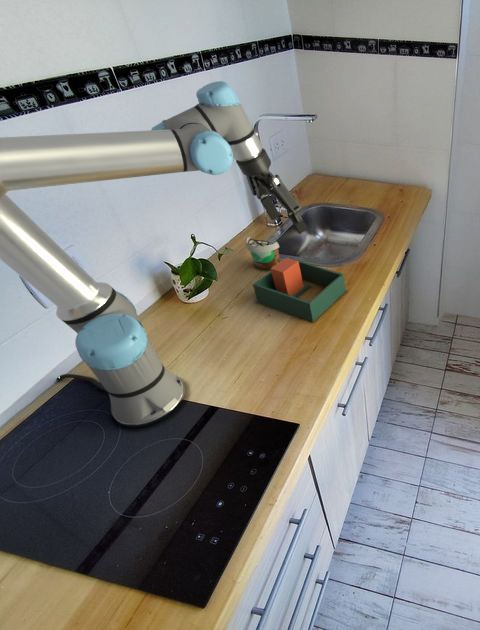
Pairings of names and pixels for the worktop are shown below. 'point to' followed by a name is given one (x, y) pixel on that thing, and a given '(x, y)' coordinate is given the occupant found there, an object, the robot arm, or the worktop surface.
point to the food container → (263, 253)
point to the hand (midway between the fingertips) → (288, 223)
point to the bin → (298, 306)
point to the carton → (287, 277)
